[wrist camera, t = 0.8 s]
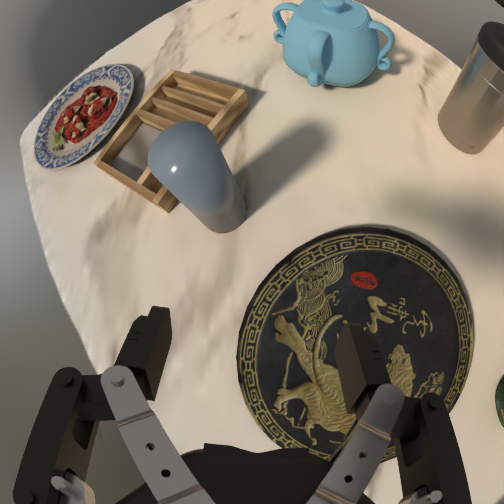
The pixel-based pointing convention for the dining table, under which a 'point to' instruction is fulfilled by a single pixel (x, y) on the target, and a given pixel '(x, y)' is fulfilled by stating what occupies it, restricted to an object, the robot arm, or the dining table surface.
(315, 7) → the decorative pot
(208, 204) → the pale blue cylinder
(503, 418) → the coffee jar
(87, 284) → the dining table surface
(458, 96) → the robot arm
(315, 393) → the decorative plate
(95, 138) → the ceramic plate
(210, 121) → the wooden compartment tray
